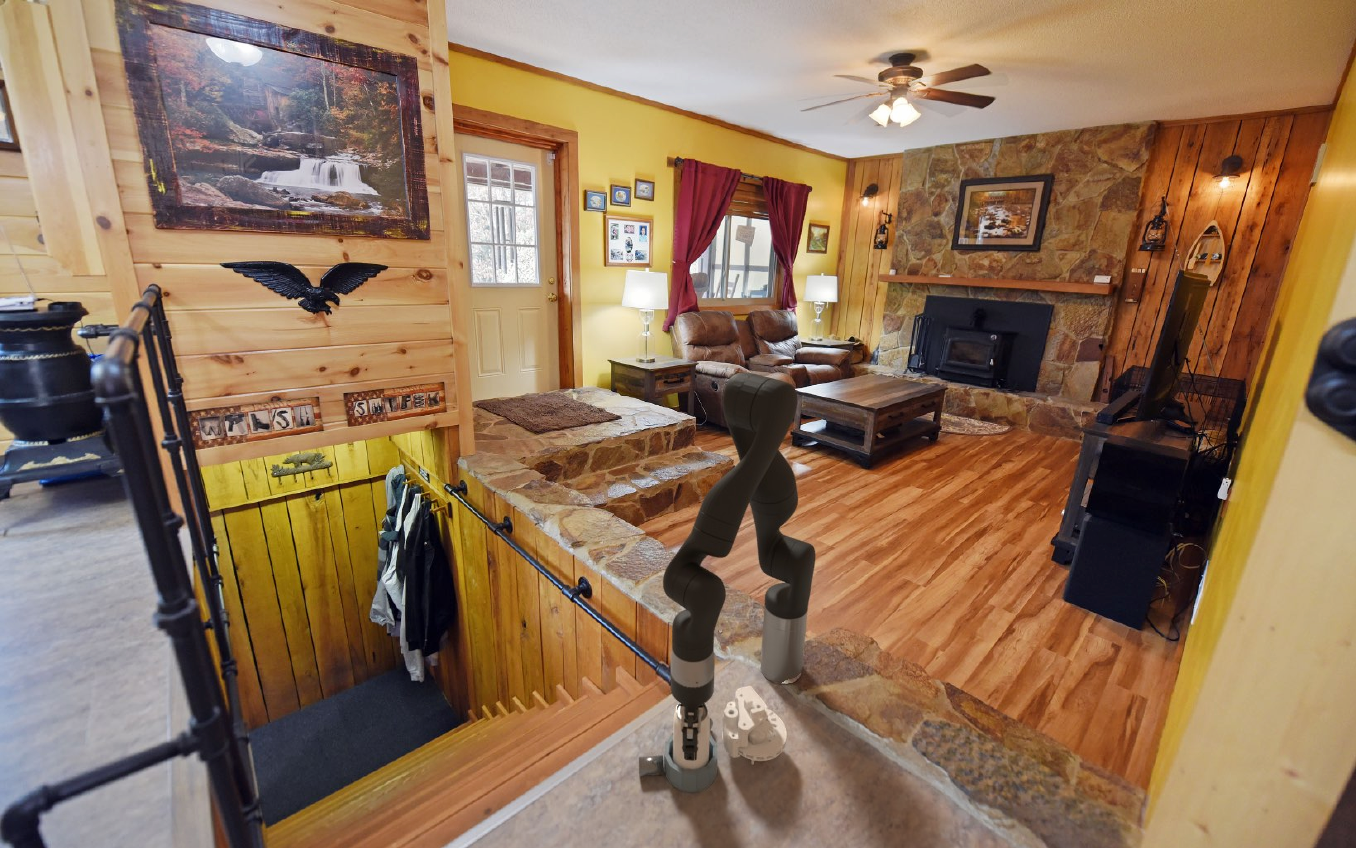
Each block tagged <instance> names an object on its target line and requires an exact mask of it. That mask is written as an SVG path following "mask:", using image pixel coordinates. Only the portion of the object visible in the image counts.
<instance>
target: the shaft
mask: <svg viewBox="0 0 1356 848" xmlns="http://www.w3.org/2000/svg"><path fill="white" fill-rule="evenodd" d="M638 774H639V775H638V776H639V777H649V776H660V775H661V776H662V775H665V769H664V754H661V755H659V754H658V755H647V756H639V757H638Z"/></svg>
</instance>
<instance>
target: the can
mask: <svg viewBox="0 0 1356 848" xmlns="http://www.w3.org/2000/svg"><path fill="white" fill-rule="evenodd" d="M710 718H711V715H710V713H709V709H708V706H707V705H706V703H704V704H703V715H702V716H701V732H700V733H699V734H698V745H697V747H698V750H697V759H696V760H695V753H694V761H691V760H685V759H684V752H683V749H682V746H683V732H682V731H681V714H680V702H678V703H677V705H676V707H675V711H674V714H673V725H672V726H673V729H672V730H673V732H672V733H673V761H674V764H675V765H677V766H679V767H680V768H682V769H683V770H695V771H696V770H698V769H701V768H703V767H705V766H707V765H708V762H709V737H710V735H711V731H710ZM682 722H684V726H685V727H688V722H686V721H685V717H684V721H682ZM698 723H700V722H698V720H697V722H696V723H693V727H698Z"/></svg>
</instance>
